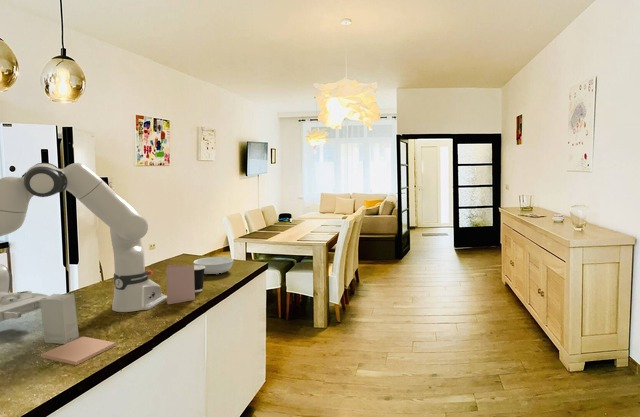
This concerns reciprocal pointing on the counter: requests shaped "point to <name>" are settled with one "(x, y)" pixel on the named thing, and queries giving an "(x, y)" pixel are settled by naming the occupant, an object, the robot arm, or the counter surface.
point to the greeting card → (180, 283)
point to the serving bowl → (215, 264)
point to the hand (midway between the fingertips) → (33, 310)
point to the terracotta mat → (78, 350)
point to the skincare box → (59, 318)
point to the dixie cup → (198, 277)
